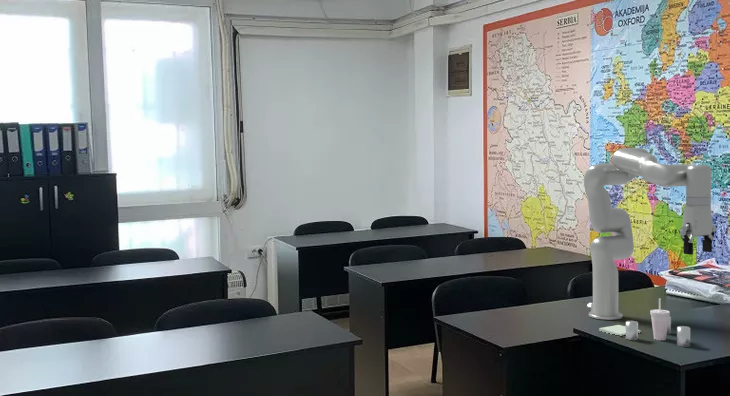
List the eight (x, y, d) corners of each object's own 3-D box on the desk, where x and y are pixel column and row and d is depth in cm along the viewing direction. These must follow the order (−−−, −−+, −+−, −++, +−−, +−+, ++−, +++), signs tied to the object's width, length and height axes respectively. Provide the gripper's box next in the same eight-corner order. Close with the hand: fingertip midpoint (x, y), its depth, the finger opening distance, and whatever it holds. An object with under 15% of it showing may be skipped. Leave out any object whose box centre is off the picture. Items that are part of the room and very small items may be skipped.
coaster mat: (598, 330, 257) (598, 328, 257) (618, 327, 262) (618, 324, 262) (620, 336, 248) (620, 334, 248) (640, 333, 253) (640, 330, 253)
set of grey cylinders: (623, 338, 246) (623, 321, 245) (663, 331, 255) (663, 314, 255) (667, 351, 229) (667, 332, 229) (709, 342, 239) (709, 324, 239)
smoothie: (669, 337, 246) (669, 297, 245) (670, 342, 240) (670, 301, 239) (649, 336, 248) (649, 296, 248) (650, 340, 242) (650, 300, 242)
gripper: (704, 200, 245) (704, 249, 246) (671, 202, 237) (670, 253, 238) (725, 201, 238) (724, 252, 239) (691, 204, 230) (690, 256, 231)
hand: (697, 252), depth 239 cm, fingers open, 9 cm apart
